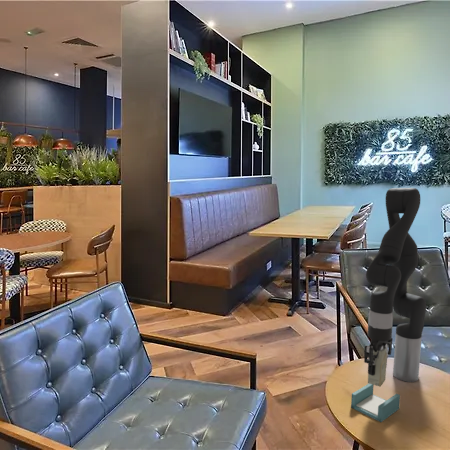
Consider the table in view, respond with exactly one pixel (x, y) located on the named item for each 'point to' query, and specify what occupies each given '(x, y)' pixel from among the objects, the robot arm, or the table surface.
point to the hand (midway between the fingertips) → (377, 371)
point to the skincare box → (379, 369)
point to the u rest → (374, 403)
